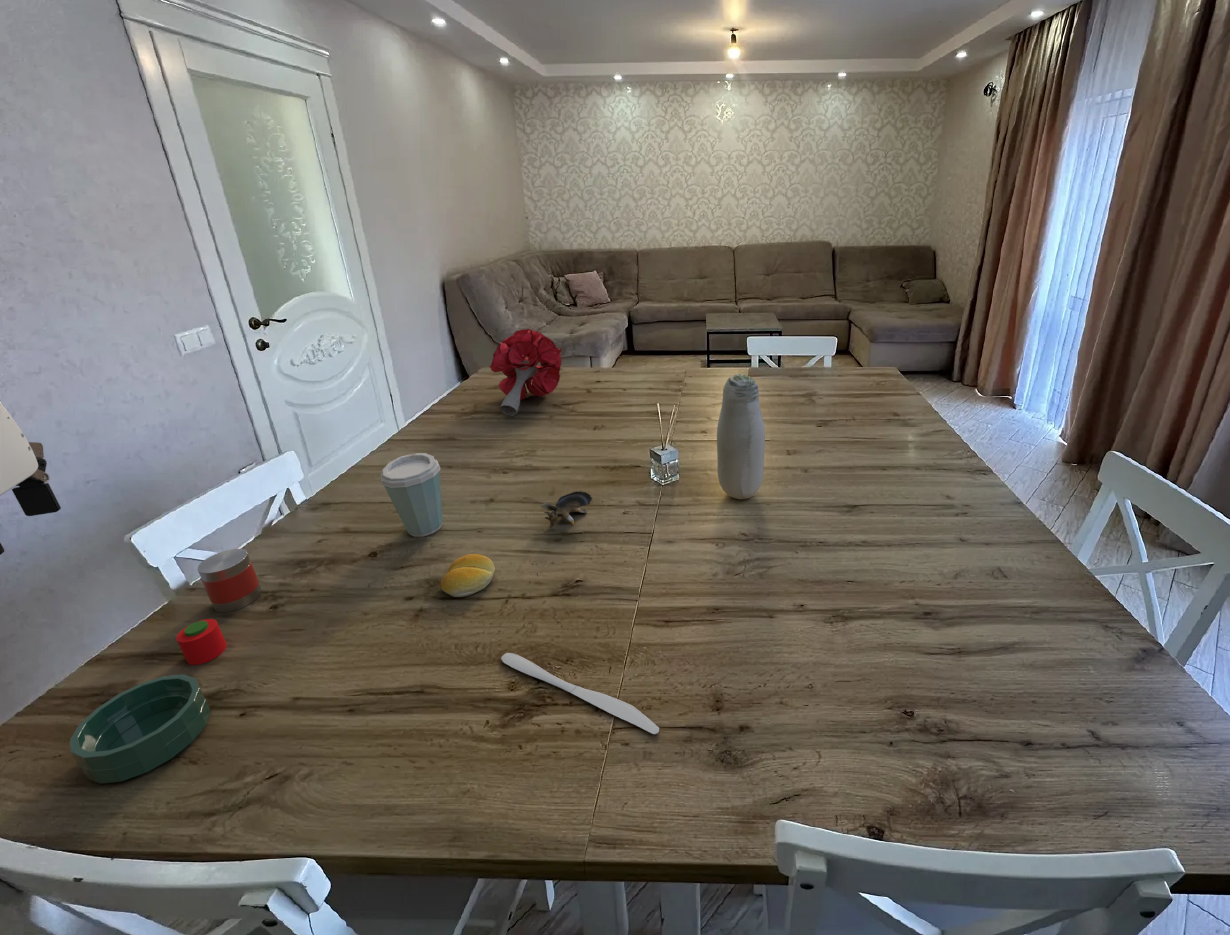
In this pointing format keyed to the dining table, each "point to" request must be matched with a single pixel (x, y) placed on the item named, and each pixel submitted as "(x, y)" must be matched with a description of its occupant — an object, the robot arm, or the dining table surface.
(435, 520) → the disposable coffee cup
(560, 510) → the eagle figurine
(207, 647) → the red short cylinder
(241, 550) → the can
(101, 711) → the bowl
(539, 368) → the bouquet
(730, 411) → the white bottle
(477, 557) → the bread roll
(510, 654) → the butter knife
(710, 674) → the dining table surface
